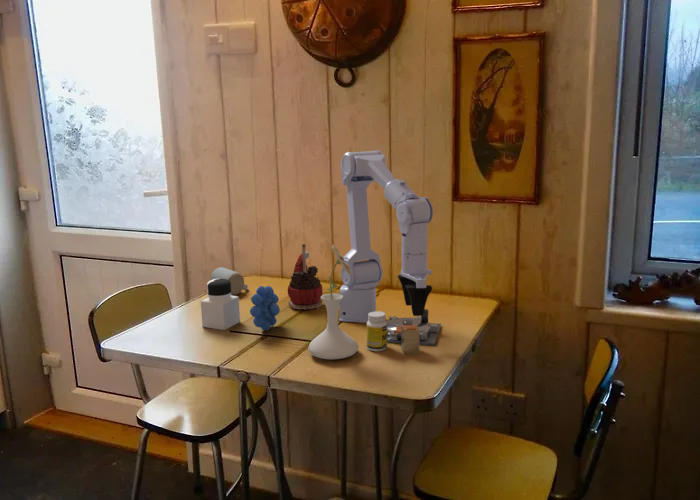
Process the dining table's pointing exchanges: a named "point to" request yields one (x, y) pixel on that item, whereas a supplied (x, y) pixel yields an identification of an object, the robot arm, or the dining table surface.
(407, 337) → the link block
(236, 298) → the medicine bottle
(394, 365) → the dining table surface
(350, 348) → the flower in vase
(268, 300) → the grapes
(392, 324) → the sprocket
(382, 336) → the supplement bottle
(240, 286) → the ceramic mug
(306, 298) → the cake
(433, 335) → the base plate
